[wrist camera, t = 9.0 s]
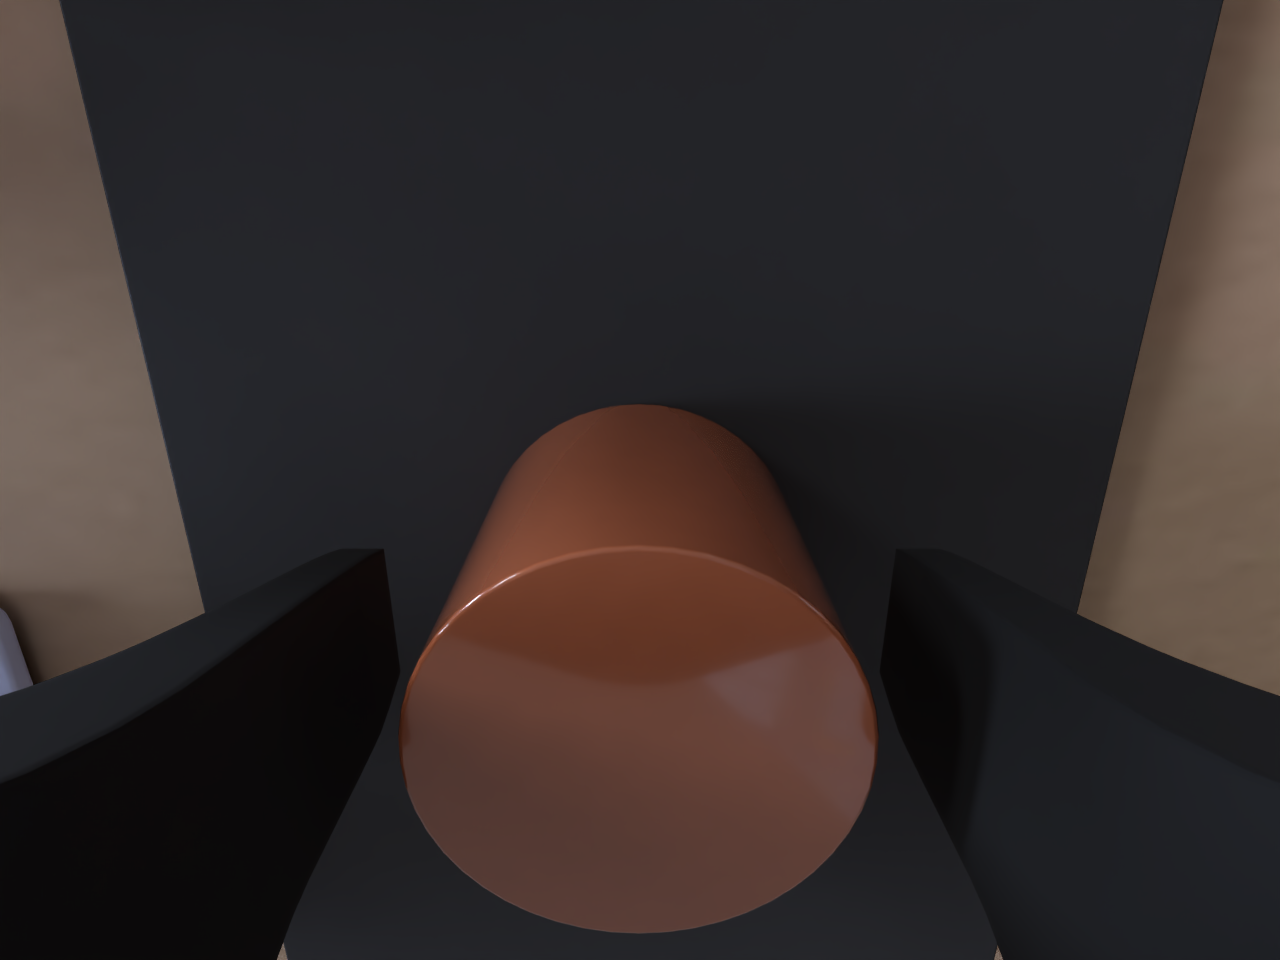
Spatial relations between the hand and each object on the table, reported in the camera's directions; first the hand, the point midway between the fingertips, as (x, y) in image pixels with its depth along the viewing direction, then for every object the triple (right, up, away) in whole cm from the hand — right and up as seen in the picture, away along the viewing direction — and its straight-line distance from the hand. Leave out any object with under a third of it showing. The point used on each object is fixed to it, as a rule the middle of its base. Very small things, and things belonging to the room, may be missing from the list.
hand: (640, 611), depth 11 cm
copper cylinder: (0, +1, +2) cm, 2 cm away
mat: (0, +1, +2) cm, 2 cm away
